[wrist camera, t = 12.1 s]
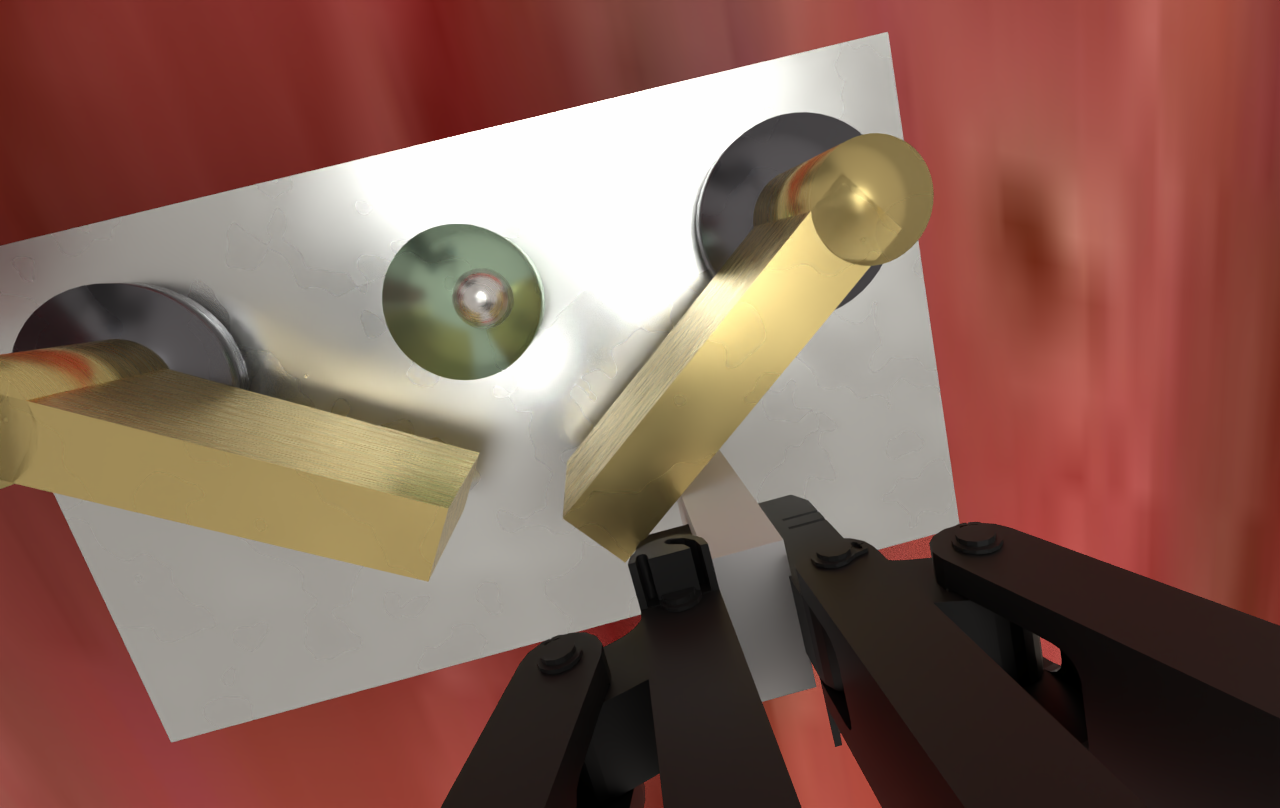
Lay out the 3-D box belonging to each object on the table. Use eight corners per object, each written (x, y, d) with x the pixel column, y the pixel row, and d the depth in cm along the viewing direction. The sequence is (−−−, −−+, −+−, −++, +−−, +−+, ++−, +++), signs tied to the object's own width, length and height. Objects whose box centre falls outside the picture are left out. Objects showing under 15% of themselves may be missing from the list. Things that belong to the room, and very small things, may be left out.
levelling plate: (14, 261, 18) (-187, 256, 13) (855, 57, 18) (946, -15, 14) (210, 697, 21) (102, 819, 16) (925, 504, 21) (1018, 567, 17)
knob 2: (781, 76, 16) (865, -6, 11) (919, 207, 17) (1050, 181, 12) (517, 414, 17) (492, 469, 12) (660, 520, 18) (689, 607, 13)
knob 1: (24, 448, 16) (-207, 521, 12) (53, 256, 16) (-183, 247, 11) (454, 554, 18) (407, 656, 13) (501, 384, 17) (470, 427, 12)
